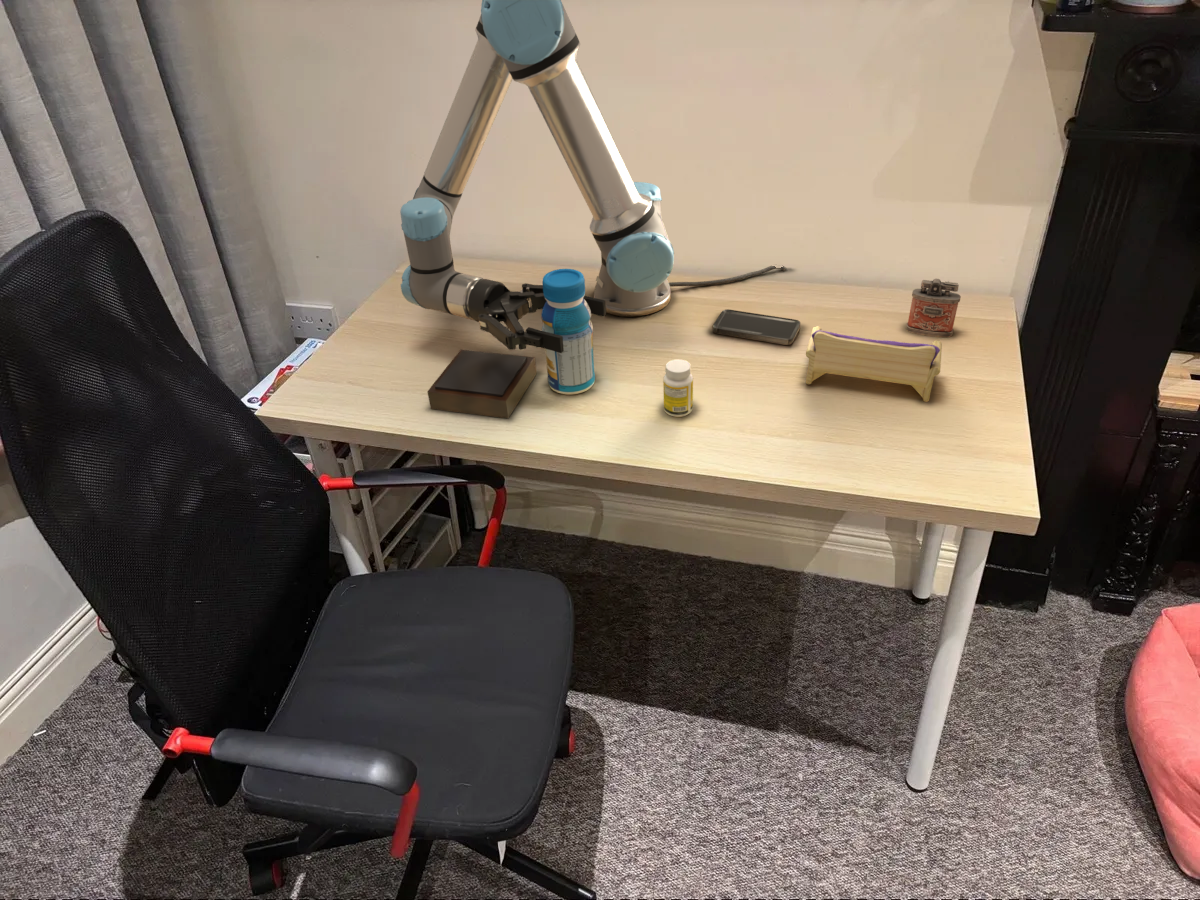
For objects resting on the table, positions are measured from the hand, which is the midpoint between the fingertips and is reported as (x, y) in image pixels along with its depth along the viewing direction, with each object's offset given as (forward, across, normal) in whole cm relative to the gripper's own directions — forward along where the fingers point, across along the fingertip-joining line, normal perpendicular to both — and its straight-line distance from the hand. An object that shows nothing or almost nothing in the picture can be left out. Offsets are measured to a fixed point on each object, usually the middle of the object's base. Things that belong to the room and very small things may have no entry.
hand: (584, 326), depth 140 cm
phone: (+18, -31, -12) cm, 38 cm away
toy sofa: (+41, -23, -12) cm, 49 cm away
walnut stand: (-16, +9, -12) cm, 22 cm away
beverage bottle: (-3, 0, -12) cm, 13 cm away
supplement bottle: (+17, -1, -12) cm, 21 cm away
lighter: (+46, -44, -12) cm, 65 cm away
